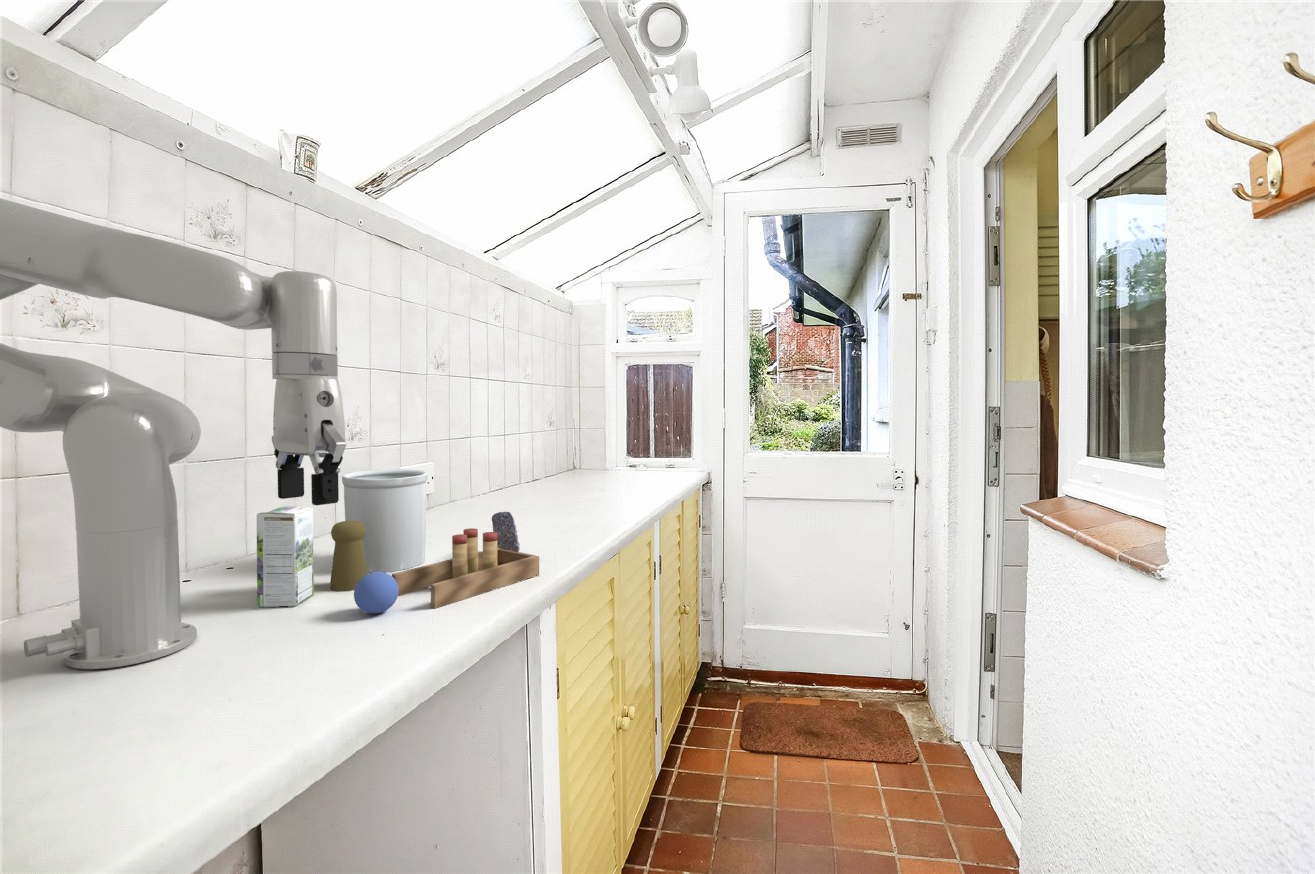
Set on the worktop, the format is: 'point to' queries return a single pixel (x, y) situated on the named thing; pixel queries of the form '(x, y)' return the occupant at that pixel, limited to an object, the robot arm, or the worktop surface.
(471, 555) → the pin
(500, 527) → the rock
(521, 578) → the lane
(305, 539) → the syrup box
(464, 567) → the pin front
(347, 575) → the cork
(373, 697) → the worktop surface
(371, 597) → the ball
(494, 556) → the pin
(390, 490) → the utensil holder
